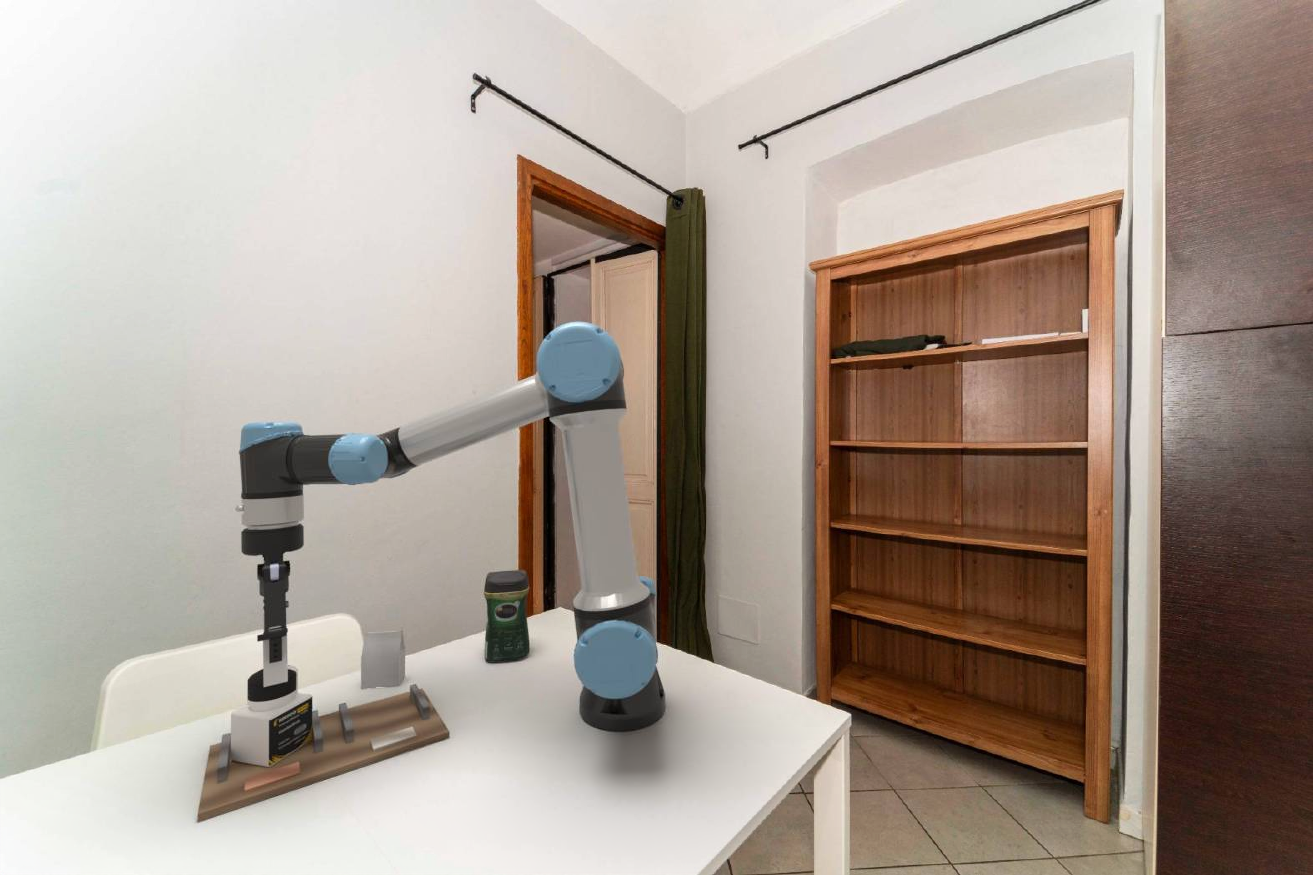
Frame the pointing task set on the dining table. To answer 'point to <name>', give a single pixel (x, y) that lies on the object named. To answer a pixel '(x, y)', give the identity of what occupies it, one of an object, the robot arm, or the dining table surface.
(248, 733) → the medicine bottle
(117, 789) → the dining table surface
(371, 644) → the grey boxy piece
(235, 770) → the stand
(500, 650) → the coffee jar
